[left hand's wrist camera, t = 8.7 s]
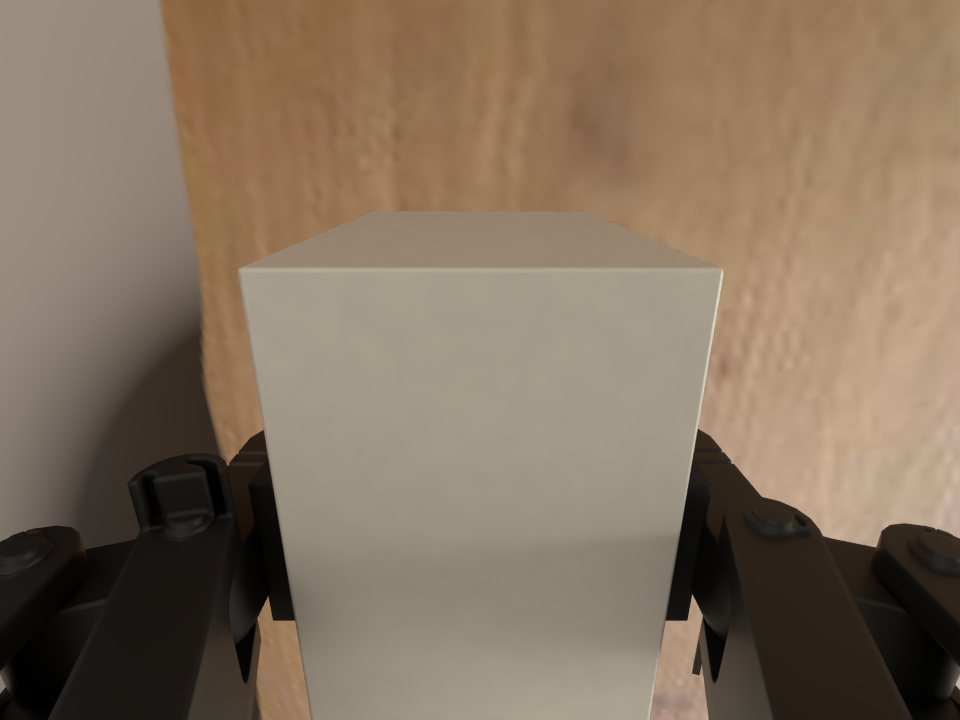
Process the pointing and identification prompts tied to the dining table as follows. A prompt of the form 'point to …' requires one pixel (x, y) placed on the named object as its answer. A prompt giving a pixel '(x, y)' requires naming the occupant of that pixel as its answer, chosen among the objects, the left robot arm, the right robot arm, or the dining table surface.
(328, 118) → the dining table surface
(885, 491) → the dining table surface
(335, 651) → the bar
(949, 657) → the left robot arm
